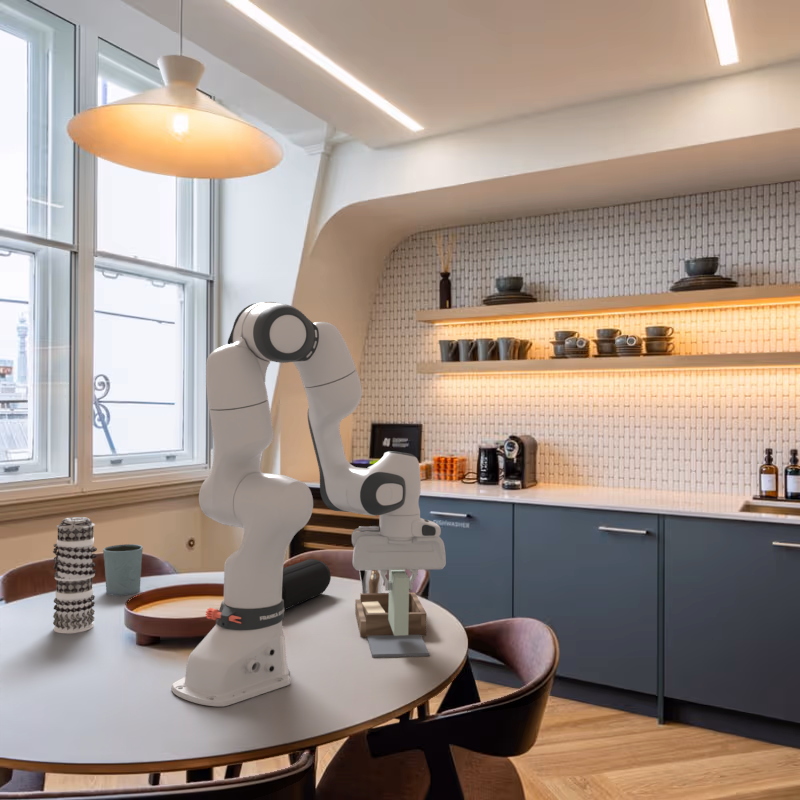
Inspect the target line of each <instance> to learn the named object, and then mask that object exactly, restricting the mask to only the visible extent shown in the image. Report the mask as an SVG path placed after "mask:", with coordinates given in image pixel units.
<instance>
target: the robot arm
mask: <svg viewBox="0 0 800 800" xmlns="http://www.w3.org/2000/svg"><path fill="white" fill-rule="evenodd" d="M350 351H351V350H349V347H348V345H347V343H346V341H345V339H344V337H343V335H342V334H341V332H340V330H339V329H338V328H337V326H335V325H334V324H332V323H330V322H327V321H315V322H313V321H312V320H310V318H308V317H307V316H306V315H305V314H304V313H303V312H302V311H300V310H299V309H298V308H296V307H295V306H292V305H289V304H286V303H279V302H275V301H264V302H257V303H251V304H249V305H247V306H245V307H244V308H243V309H242V310H241V311H240V312H238V314H237V316H236V317H235V320H234V322H233V326H232V329H231V332H230V334H229V337H228V339H227V344H225V345H221V346H220V347H217V348H215V349H214V350H213V351H212V352H211V353H209V355H208V357H207V358H206V363H205V365H206V366H205V383H206V385H205V386H206V398H207V405H208V410H209V418H210V422H211V429H212V436H213V438H212V439H213V447H214V448H213V449H214V452H213V453H214V454H213V462H212V467H211V471H210V473H209V474H208V475H207V477H206V478H205V479H204V481H203V482H202V484H201V486H200V488H199V493H198V503H199V507H200V510H201V512H202V514H203V515H205V516H206V517H207V518H209V519H211V520H213V521H215V522H217V523H219V524H221V525H223V526H229V527H234V528H241V529H243V535H242V541H241V543H240V546H239V548H238V549H237V550H235V551H234V552H232V553H231V554H230V555H229V556H228V557H227V558H226V559H225V562H224V566H223V567H224V568H223V570H224V573H223V600H222V602H221V603H220V607H219V609H218V608H213V607H209V608H207V610H206V611H205V617H206V619H208V620H213V621H215V625H214V626H213V627H212V629H210V631H209V632H208V633H207V634H206V635H205V636H204V638H203V639H202V640H201V641H200V642H199V643H198V644H197V645H196V647H195V648H194V649H193V650H192V651H191V652H190V653H189V656H188V658H187V662H186V667H185V674H184V675H185V676H183V677H182V678H180V679H178V680H176V681H175V682H173V683H172V684H171V691H172V693H173V694H174V695H176V696H177V697H179V698H181V699H183V700H186V701H188V702H191V703H195V704H199V705H203V706H209V707H227V706H229V705H230V706H231V705H233V704H236V703H239V702H242V701H246V700H248V699H251V698H255V697H257V696H261V695H262V694H266V693H269V692H272V691H275V690H277V689H280V688H284V687H286V686H289V685H290V684H291V677H290V675H289V674H290V669H289V666H288V661H287V651H286V641H285V640H286V639H285V635H284V634H285V633H284V629H283V620H284V619H285V610H286V609H285V610H284V600H283V599H282V579H283V568H284V564H285V559H286V558H285V557H286V553H287V551H288V548H289V547H290V544H291V542H292V540H293V539H294V536H295V535H296V534H297V533H299V532H300V530H302V529H303V528H304V527H305V526H306V525H308V522H309V521H310V519H311V516H312V514H313V509H314V498H313V495H312V491H311V488H309V486H308V485H307V484H306V483H305V482H303V481H301V480H299V479H296V478H294V477H291V476H288V475H286V474H285V475H284V474H277V473H276V474H275V473H268V472H267V473H266V472H262V470H261V457H262V453H263V452H264V451H265V450H266V449H267V448H269V446H270V445H271V444H272V442H273V440H274V434H275V433H274V428H273V422H272V414H271V409H270V404H269V403H270V402H269V396H268V390H267V387H266V374H267V370H268V367H269V365H270V364H271V362H272V363H273V362H274V363H279V364H280V363H281V364H283V363H285V364H287V363H293V365H294V366H295V368H296V369H297V371H298V373H299V377H300V380H301V383H302V385H303V388H304V391H305V395H306V396H305V397H306V399H307V405H308V408H307V421H308V429H309V432H310V433H309V434H310V437H311V440H312V445H313V449H314V453H315V454H314V455H315V458H316V461H317V462H316V463H317V467H318V473H319V491H320V496H321V500H322V501H323V503H324V505H325V506H326V507H327V508H329V509H330V510H331V511H336V512H345V513H346V512H347V513H354V514H359V515H365V516H372V517H373V516H374V517H375V516H376V517H377V516H379V524H378V525H372V526H371V525H370V526H364V525H363V526H362V525H361V526H358V528H355V529H353V531H352V533H351V545H352V546H353V551H352V566H353V568H354V569H355V571H359V570H380V574H381V576H382V578H383V580H384V590H385V591H388V592H389V590H392V581H389V579H387V577H386V575H388V571H389V570H405V571H408V570H409V572H410V574H411V575H410V577H409V591H413V588H414V587H413V586H414V585H413V583H414V581H416V579H417V577H418V575H419V570H422V571H423V570H443V569H444V567H446V564H447V561H446V560H447V559H446V558H447V557H446V547H445V543H444V542H445V541H444V540H443V539H442V538H441V534H442V532H441V531H442V530H441V527H440V525H439V524H437V523H436V522H434V521H432V520H429V519H425V518H422V517H421V510H420V506H419V505H420V504H419V501H420V496H421V486H422V485H421V484H422V483H421V481H422V480H421V469H420V463H419V460H418V457H416V456H415V455H414V454H412V453H407V452H400V451H391V450H388V451H385V452H384V453H383V456H382V457H381V458H380V459H379V460H377V462H375V463H374V464H372V465H369V466H368V467H367V468H366V467H358V466H357V467H356V466H354V465H352V464H351V463H350V462H349V461H348V459H347V456H346V454H345V450H344V444H343V441H342V436H341V435H342V434H341V432H340V426H341V425H340V424H341V422H342V421H343V420H344V419H345V418H348V416H350V415H351V414H353V413H354V412H355V410H357V408H358V407H359V405H360V402H361V400H362V397H363V388H362V383H361V379H360V377H359V373H358V371H357V367H356V364H355V361H354V359H353V356H352V353H351V352H350Z"/></svg>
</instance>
